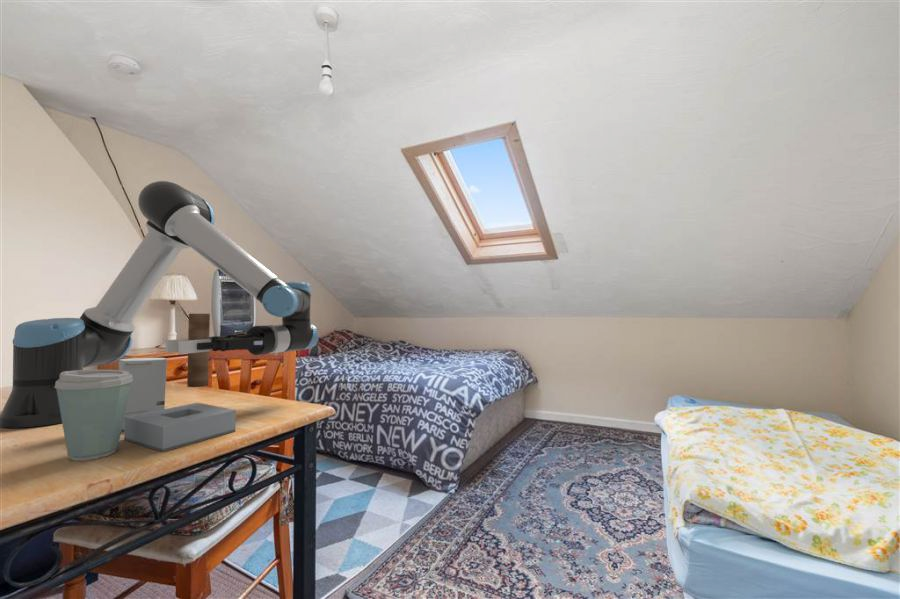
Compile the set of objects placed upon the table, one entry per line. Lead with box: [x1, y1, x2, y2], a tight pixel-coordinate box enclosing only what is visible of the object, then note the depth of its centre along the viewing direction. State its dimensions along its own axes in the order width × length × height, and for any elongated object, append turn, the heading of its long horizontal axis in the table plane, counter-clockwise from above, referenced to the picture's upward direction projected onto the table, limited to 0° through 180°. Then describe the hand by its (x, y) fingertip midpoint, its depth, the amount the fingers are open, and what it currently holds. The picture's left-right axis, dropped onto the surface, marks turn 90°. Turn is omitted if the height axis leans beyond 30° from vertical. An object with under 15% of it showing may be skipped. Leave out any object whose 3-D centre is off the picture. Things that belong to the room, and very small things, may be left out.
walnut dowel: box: [186, 313, 211, 388], centre depth 90 cm, size 4×4×16 cm
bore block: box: [123, 402, 236, 453], centre depth 82 cm, size 14×14×4 cm
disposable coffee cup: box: [55, 369, 133, 462], centre depth 71 cm, size 11×11×15 cm
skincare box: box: [118, 357, 168, 432], centre depth 90 cm, size 8×6×15 cm
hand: (173, 347), depth 85 cm, fingers closed on walnut dowel, 4 cm apart
